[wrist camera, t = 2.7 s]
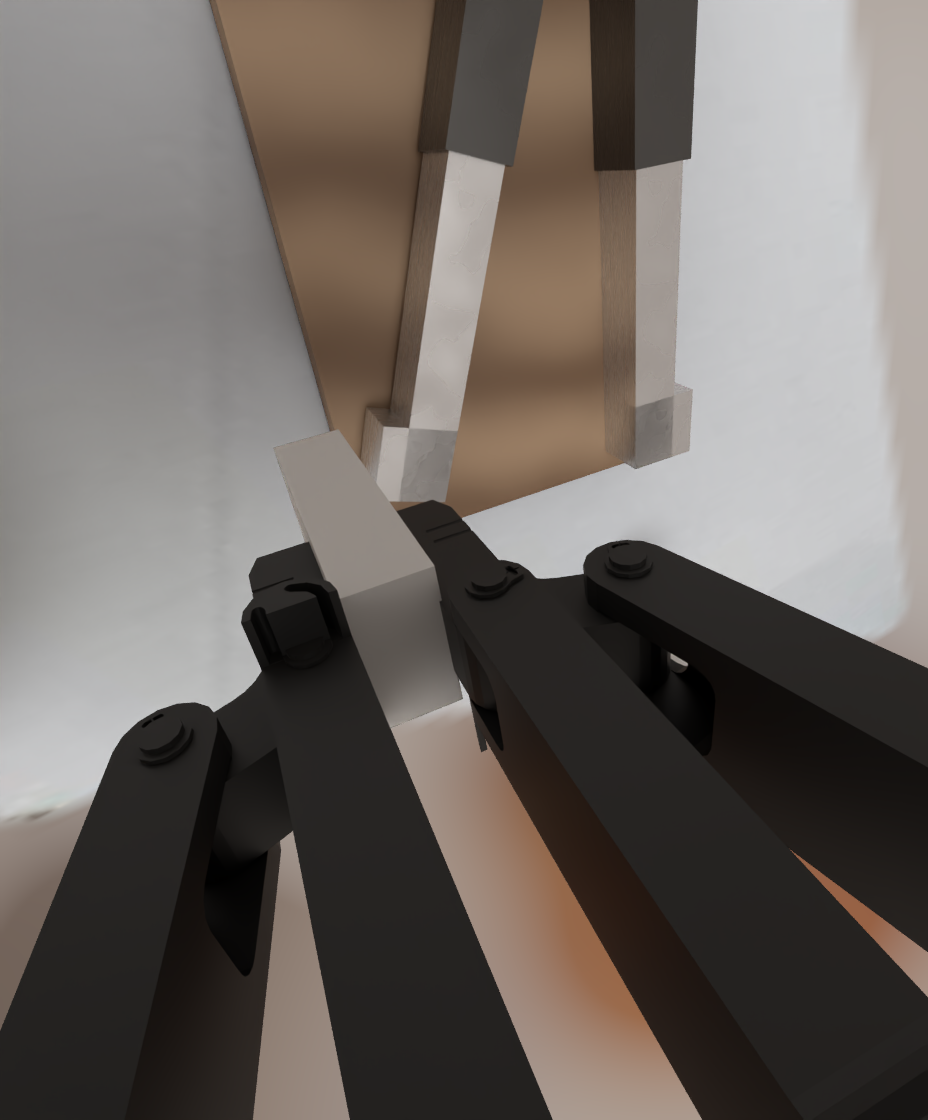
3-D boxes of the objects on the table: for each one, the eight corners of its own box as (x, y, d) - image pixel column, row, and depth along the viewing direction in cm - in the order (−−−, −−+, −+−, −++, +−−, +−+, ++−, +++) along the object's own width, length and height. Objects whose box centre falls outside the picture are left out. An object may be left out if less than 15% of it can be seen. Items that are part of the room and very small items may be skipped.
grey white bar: (496, -436, 17) (545, -527, 15) (676, -427, 18) (746, -509, 16) (559, 465, 31) (588, 487, 29) (656, 434, 32) (692, 452, 30)
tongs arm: (470, -523, 16) (523, -644, 13) (651, -388, 18) (723, -472, 16) (358, 477, 27) (377, 505, 25) (478, 480, 29) (505, 506, 27)
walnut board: (74, -479, 15) (67, -536, 14) (656, -445, 19) (690, -488, 18) (359, 534, 30) (367, 549, 29) (645, 440, 34) (663, 449, 33)
